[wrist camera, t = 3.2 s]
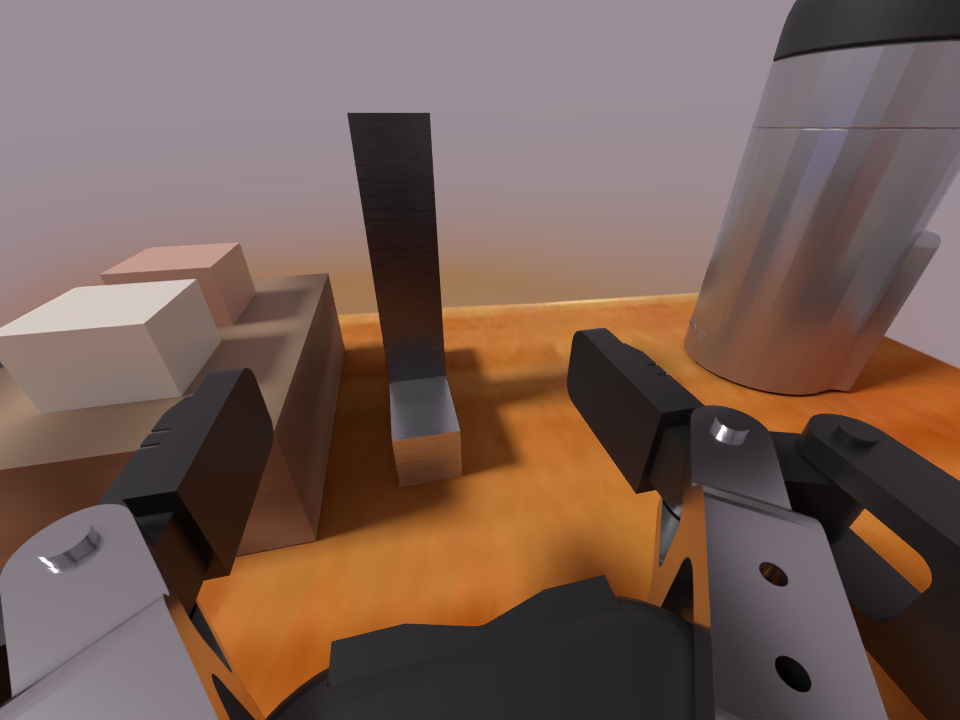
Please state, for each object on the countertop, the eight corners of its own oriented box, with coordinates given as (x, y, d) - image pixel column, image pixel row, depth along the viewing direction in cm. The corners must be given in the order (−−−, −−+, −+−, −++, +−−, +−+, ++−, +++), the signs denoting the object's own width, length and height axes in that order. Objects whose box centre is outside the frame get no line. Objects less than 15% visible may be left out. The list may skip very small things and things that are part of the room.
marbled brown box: (345, 349, 29) (328, 273, 26) (316, 540, 16) (274, 430, 13) (166, 369, 27) (124, 288, 24) (-42, 610, 14) (-202, 498, 10)
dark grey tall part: (433, 354, 29) (414, 116, 21) (462, 476, 19) (446, 108, 11) (392, 358, 28) (357, 116, 20) (399, 488, 18) (335, 108, 10)
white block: (222, 340, 18) (196, 278, 16) (181, 396, 14) (143, 323, 13) (113, 351, 17) (75, 287, 15) (40, 413, 13) (-19, 337, 12)
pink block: (256, 293, 23) (239, 242, 21) (232, 325, 19) (210, 267, 18) (173, 300, 22) (149, 247, 20) (132, 335, 18) (99, 274, 17)
